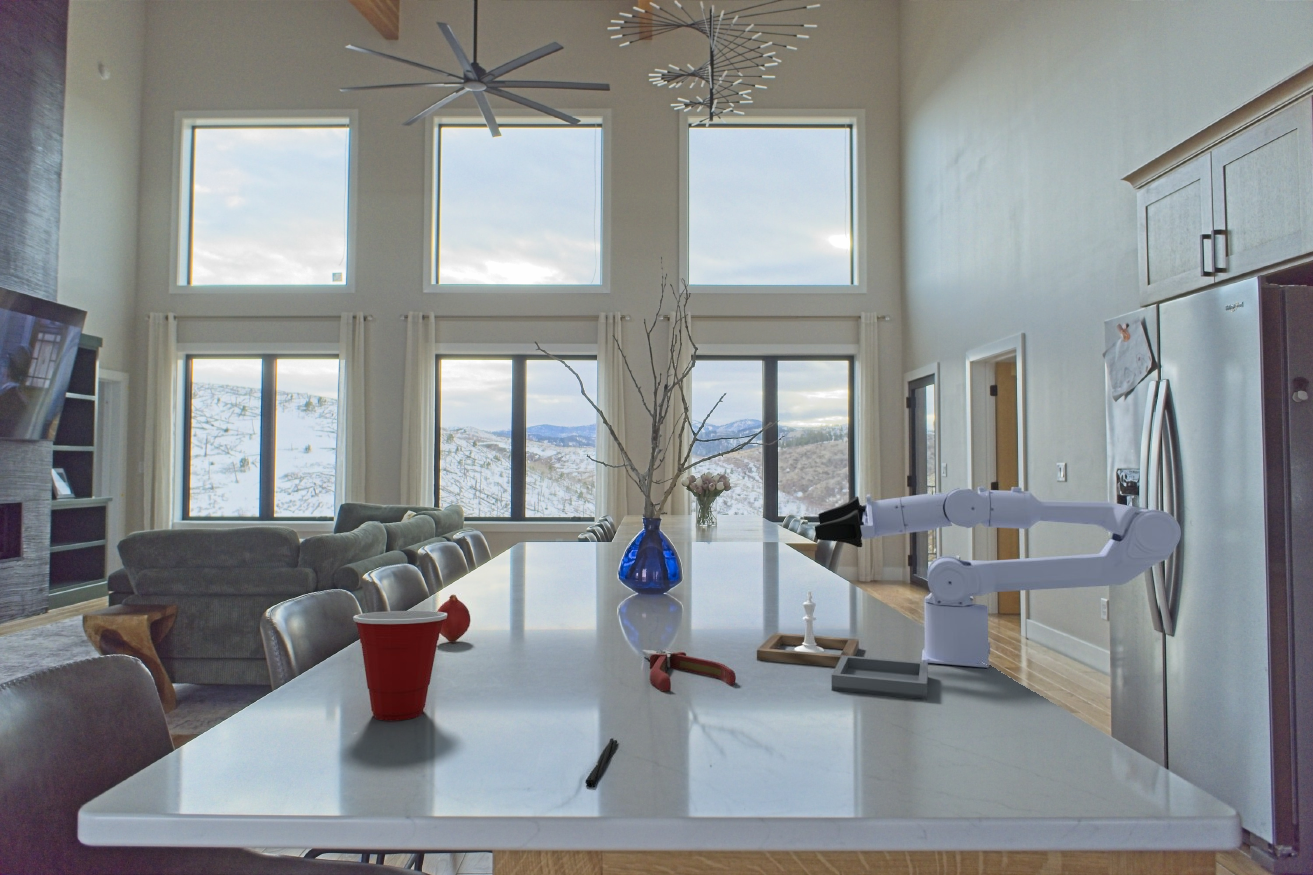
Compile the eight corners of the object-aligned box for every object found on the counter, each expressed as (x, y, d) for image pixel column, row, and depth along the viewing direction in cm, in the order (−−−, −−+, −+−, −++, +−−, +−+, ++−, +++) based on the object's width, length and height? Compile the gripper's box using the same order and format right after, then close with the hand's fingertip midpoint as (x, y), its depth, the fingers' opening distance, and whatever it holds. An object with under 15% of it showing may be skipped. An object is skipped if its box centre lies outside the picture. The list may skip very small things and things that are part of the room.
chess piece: (821, 650, 129) (820, 588, 130) (828, 657, 125) (828, 593, 125) (790, 650, 129) (791, 588, 130) (797, 657, 124) (797, 593, 125)
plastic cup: (453, 699, 100) (455, 603, 101) (436, 726, 90) (438, 619, 90) (365, 700, 99) (367, 603, 100) (337, 728, 89) (340, 620, 89)
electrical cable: (609, 744, 85) (610, 734, 85) (619, 744, 85) (619, 735, 85) (584, 789, 73) (584, 778, 73) (595, 789, 73) (595, 778, 73)
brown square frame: (858, 648, 131) (858, 639, 131) (849, 668, 118) (849, 657, 118) (774, 641, 136) (774, 632, 136) (756, 659, 123) (756, 649, 123)
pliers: (683, 655, 127) (683, 639, 127) (739, 688, 108) (739, 669, 108) (615, 661, 123) (615, 644, 123) (660, 696, 104) (660, 676, 104)
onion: (433, 639, 135) (434, 592, 136) (468, 637, 137) (469, 590, 137) (435, 646, 130) (436, 597, 130) (471, 644, 131) (472, 596, 132)
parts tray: (927, 676, 113) (927, 662, 113) (926, 699, 102) (926, 683, 102) (841, 668, 117) (841, 655, 117) (831, 689, 106) (831, 674, 106)
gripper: (898, 480, 133) (816, 492, 137) (899, 502, 119) (809, 514, 123) (905, 521, 134) (824, 531, 138) (907, 547, 120) (817, 557, 124)
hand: (817, 526), depth 131 cm, fingers open, 7 cm apart
